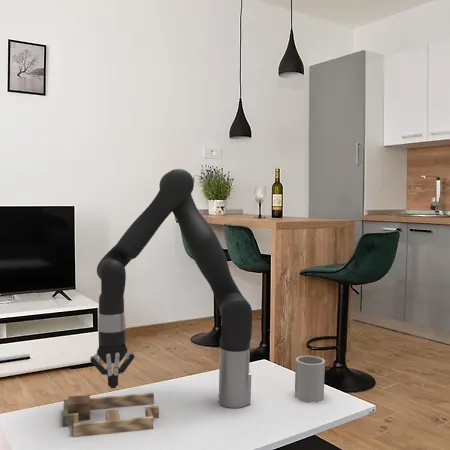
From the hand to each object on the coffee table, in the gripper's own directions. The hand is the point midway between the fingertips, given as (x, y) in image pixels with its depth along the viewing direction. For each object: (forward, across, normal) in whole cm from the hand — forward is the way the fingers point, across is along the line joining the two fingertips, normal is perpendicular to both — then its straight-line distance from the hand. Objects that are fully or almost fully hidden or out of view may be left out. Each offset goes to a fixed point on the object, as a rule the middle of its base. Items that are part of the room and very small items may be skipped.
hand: (112, 387), depth 151 cm
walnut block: (+8, +10, -1) cm, 12 cm away
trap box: (+8, +1, +3) cm, 8 cm away
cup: (+10, -61, +1) cm, 62 cm away
